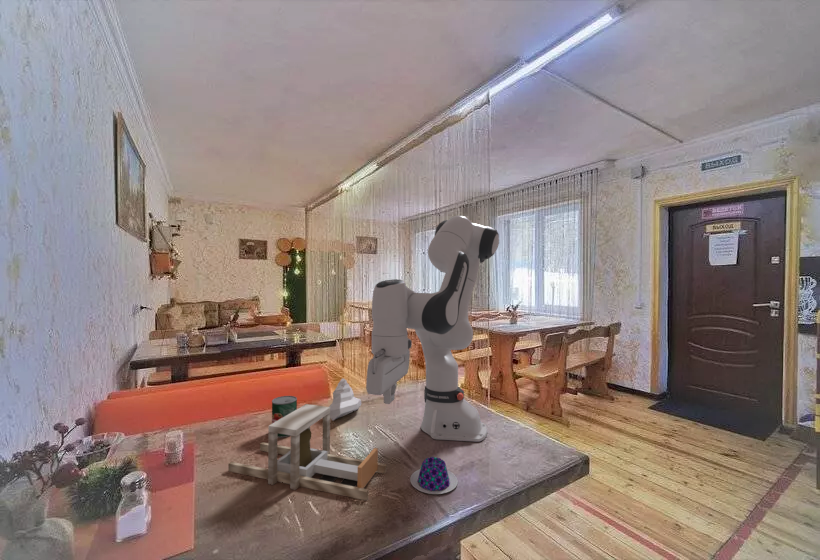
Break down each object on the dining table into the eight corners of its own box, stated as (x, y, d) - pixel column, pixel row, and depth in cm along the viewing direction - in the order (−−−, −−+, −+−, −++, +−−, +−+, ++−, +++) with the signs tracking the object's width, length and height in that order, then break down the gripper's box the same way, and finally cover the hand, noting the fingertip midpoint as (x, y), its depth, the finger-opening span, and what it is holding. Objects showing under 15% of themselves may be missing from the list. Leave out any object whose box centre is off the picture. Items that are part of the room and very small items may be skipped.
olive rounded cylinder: (305, 477, 90) (306, 435, 90) (284, 475, 91) (284, 432, 91) (316, 465, 96) (317, 425, 96) (296, 463, 97) (296, 423, 97)
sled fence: (377, 471, 92) (377, 448, 92) (361, 493, 83) (361, 467, 83) (296, 456, 100) (296, 435, 100) (272, 474, 90) (273, 451, 90)
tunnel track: (388, 468, 94) (389, 414, 94) (363, 504, 79) (363, 440, 79) (266, 446, 106) (266, 398, 106) (223, 474, 91) (223, 418, 91)
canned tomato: (266, 435, 114) (266, 401, 114) (283, 426, 121) (283, 394, 121) (285, 439, 111) (285, 405, 111) (301, 429, 118) (302, 397, 118)
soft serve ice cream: (317, 422, 128) (313, 382, 132) (346, 413, 141) (342, 377, 144) (341, 421, 122) (336, 379, 125) (369, 411, 134) (365, 374, 137)
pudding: (411, 468, 95) (411, 449, 95) (456, 470, 94) (456, 451, 94) (408, 496, 83) (408, 474, 83) (459, 498, 82) (459, 476, 82)
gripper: (386, 355, 75) (385, 419, 75) (413, 339, 95) (413, 390, 95) (359, 353, 77) (358, 415, 77) (391, 338, 96) (391, 388, 96)
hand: (389, 401), depth 86 cm, fingers closed
